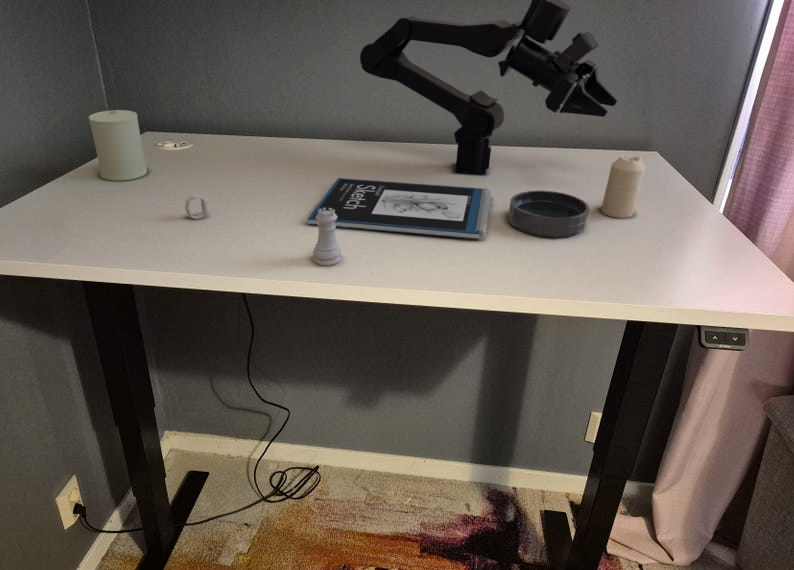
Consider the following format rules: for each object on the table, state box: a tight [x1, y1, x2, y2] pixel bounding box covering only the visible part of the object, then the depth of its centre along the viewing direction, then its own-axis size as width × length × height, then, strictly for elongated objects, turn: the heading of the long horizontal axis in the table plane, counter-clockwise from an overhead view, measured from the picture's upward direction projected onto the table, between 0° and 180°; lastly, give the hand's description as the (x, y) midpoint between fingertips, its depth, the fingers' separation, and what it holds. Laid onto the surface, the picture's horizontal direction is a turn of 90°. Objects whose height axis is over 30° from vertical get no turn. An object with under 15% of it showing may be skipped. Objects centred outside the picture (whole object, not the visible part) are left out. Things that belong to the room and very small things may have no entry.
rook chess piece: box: [312, 208, 342, 267], centre depth 96 cm, size 4×4×8 cm
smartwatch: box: [184, 194, 209, 220], centre depth 111 cm, size 4×2×4 cm, turn 118°
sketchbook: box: [307, 177, 492, 241], centre depth 115 cm, size 22×30×2 cm
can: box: [88, 109, 148, 182], centre depth 128 cm, size 9×9×12 cm
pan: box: [507, 190, 590, 238], centre depth 110 cm, size 13×13×4 cm
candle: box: [601, 155, 646, 219], centre depth 112 cm, size 6×6×10 cm
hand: (611, 108), depth 116 cm, fingers open, 9 cm apart
